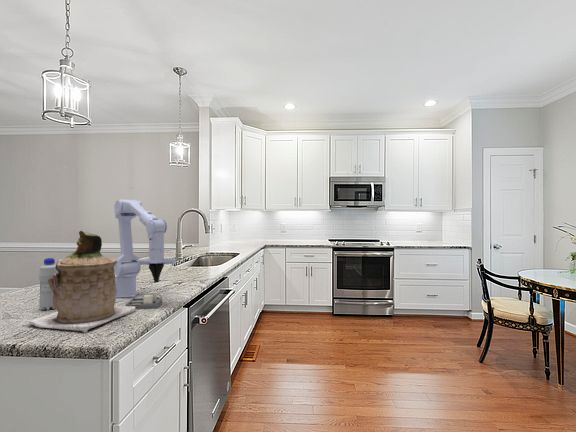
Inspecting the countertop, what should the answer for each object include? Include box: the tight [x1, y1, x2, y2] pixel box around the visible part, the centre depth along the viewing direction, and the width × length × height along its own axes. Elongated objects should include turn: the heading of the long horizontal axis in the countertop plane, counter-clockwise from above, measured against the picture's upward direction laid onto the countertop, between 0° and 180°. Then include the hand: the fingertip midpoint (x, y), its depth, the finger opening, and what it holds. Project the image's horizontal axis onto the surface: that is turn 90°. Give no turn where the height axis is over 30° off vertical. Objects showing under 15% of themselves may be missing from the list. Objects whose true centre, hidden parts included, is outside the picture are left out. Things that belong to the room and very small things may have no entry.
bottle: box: [38, 257, 58, 311], centre depth 124 cm, size 7×7×20 cm
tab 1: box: [142, 294, 153, 304], centre depth 127 cm, size 3×2×4 cm
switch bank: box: [125, 295, 163, 310], centre depth 129 cm, size 12×10×2 cm
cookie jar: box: [26, 229, 136, 333], centre depth 113 cm, size 25×25×32 cm
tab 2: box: [147, 291, 158, 300], centre depth 133 cm, size 3×2×4 cm
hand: (156, 281), depth 130 cm, fingers closed
